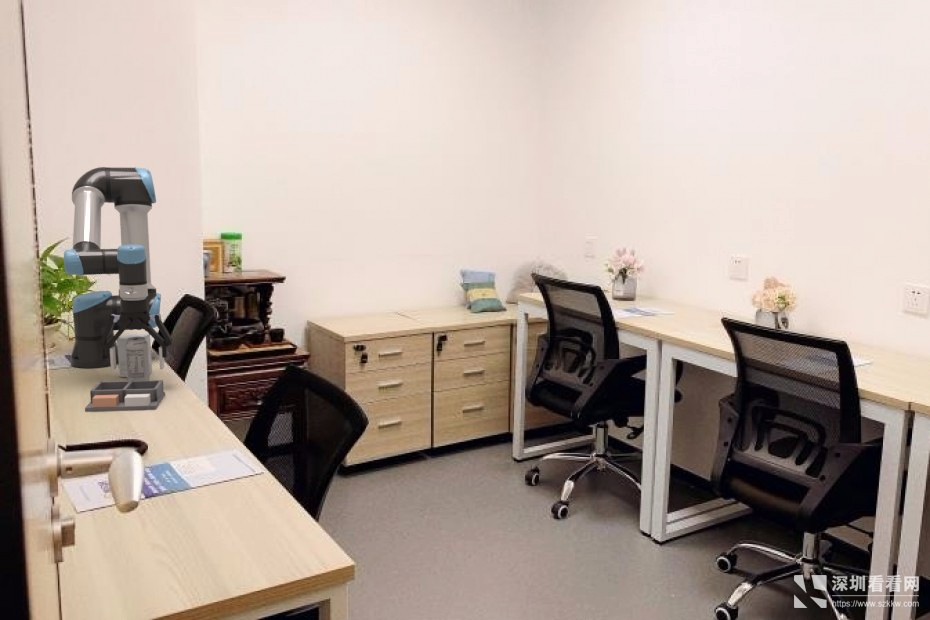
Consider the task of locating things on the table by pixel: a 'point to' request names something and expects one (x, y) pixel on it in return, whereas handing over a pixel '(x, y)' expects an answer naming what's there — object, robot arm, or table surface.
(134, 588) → the table surface
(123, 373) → the supplement box
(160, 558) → the table surface
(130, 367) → the energy drink can
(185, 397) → the table surface
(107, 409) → the socket deck
